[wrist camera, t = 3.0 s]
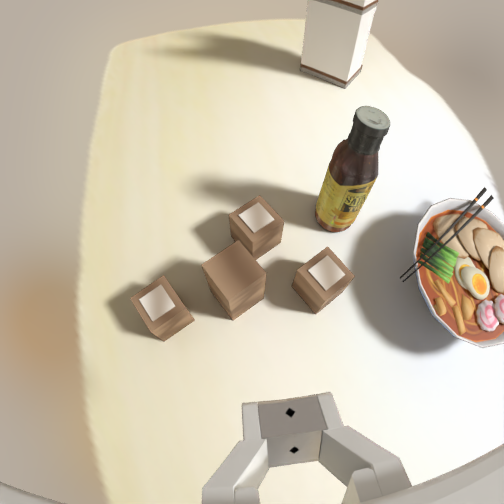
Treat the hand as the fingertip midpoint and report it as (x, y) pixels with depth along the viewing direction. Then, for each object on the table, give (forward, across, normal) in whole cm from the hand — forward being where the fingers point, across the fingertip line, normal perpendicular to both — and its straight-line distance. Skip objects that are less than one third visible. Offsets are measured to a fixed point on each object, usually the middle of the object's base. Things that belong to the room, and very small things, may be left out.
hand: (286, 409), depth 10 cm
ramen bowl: (+29, -31, +14) cm, 45 cm away
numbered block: (+29, +11, +13) cm, 34 cm away
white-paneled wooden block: (+37, -1, +6) cm, 37 cm away
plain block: (+31, +2, +12) cm, 33 cm away
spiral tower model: (+68, -24, -24) cm, 76 cm away
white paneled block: (+31, -9, +12) cm, 34 cm away
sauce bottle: (+39, -14, +4) cm, 41 cm away
